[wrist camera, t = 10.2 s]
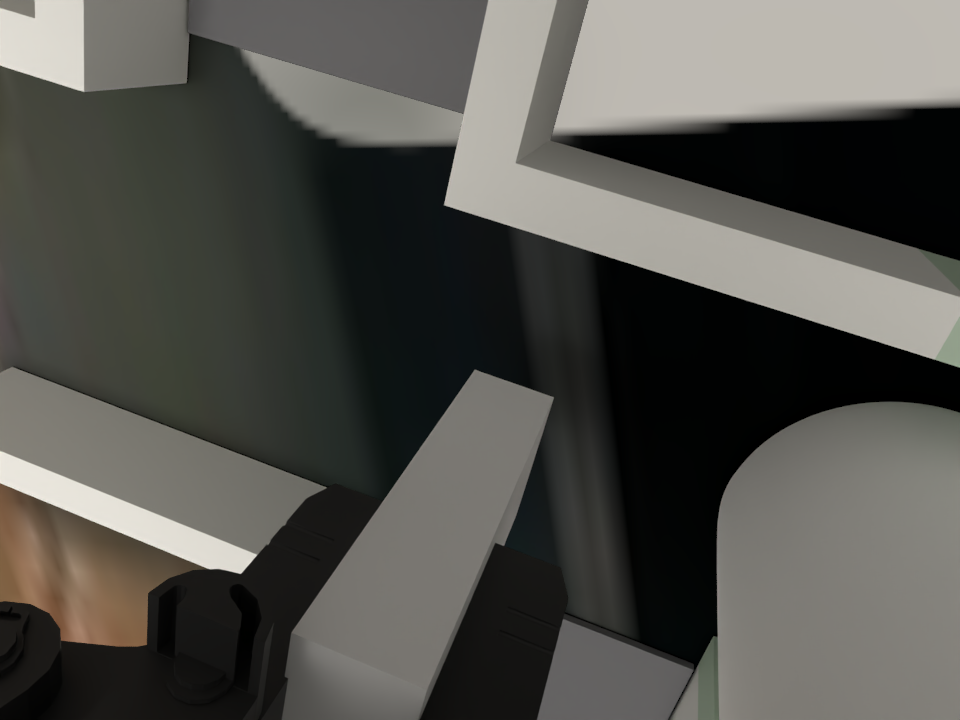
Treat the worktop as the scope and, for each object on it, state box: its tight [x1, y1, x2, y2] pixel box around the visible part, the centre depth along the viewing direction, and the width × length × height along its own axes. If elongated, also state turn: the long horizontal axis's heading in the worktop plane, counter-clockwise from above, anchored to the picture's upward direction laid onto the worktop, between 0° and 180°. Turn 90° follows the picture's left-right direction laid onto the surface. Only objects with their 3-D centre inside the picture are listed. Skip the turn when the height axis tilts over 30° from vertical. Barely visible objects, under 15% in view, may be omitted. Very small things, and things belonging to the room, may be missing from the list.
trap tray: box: [0, 0, 960, 720], centre depth 15 cm, size 28×22×3 cm
